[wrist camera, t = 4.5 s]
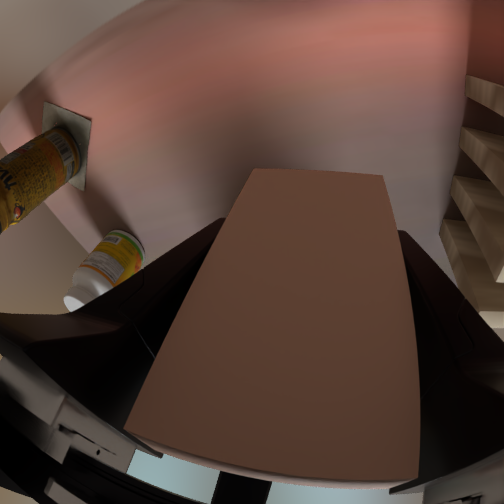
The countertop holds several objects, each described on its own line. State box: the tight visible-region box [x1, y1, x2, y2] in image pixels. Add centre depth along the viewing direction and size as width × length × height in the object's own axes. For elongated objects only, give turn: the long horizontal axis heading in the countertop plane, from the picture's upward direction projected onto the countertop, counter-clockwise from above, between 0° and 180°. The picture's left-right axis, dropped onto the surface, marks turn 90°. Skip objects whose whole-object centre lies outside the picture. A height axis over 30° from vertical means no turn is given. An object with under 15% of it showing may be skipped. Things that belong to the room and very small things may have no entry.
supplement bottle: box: [64, 230, 145, 312], centre depth 29 cm, size 5×5×10 cm
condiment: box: [0, 101, 91, 234], centre depth 21 cm, size 7×8×12 cm
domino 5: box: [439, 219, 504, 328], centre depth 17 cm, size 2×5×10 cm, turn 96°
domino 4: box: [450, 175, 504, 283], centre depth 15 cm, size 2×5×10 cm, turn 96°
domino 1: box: [123, 168, 420, 489], centre depth 8 cm, size 2×5×10 cm, turn 95°
